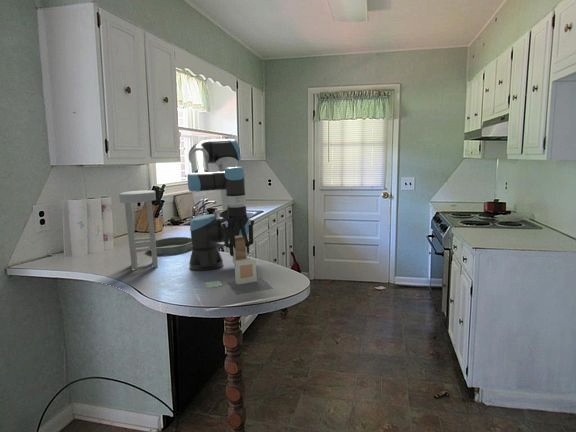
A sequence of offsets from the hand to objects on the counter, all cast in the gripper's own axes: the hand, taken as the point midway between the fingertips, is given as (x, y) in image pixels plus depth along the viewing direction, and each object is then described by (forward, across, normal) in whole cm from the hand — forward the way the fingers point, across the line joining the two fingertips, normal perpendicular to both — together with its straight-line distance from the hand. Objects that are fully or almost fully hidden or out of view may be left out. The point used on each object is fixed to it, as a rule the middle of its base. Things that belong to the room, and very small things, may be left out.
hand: (240, 262), depth 169 cm
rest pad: (+7, -12, -4) cm, 15 cm away
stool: (+7, -36, +42) cm, 55 cm away
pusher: (0, 0, 0) cm, 0 cm away
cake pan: (+7, -20, +69) cm, 72 cm away
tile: (+6, 0, -7) cm, 10 cm away
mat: (+7, 0, -12) cm, 14 cm away
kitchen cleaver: (+7, +8, +65) cm, 66 cm away
